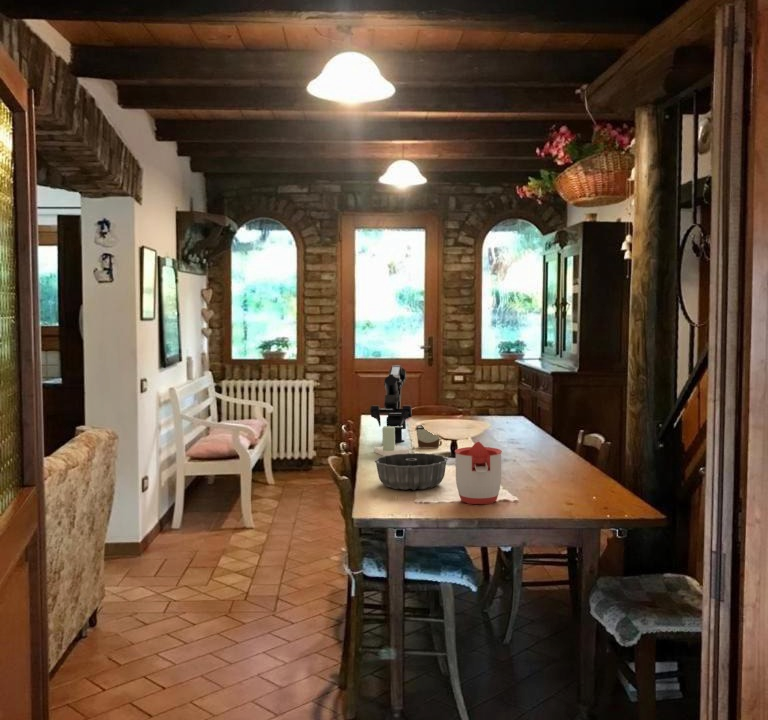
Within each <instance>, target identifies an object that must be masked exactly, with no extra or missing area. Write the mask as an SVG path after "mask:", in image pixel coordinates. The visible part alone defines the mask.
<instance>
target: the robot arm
mask: <svg viewBox="0 0 768 720" xmlns="http://www.w3.org/2000/svg"><path fill="white" fill-rule="evenodd" d="M406 380H407V370H406V369H405V368H403V367H402V365H397V364H396V365H391V367H390V369H389V370H388V375H387V376H386V377H385V378H384V382H383V387H384V389H385V392H386V394H385V395H384V402H383V403H384V404H383V406H384V408H381V407H380V405H371V406H370V407H369V409H370V410H369V411H370V417H371V418H373V419H375V420H376V422H377V423H378V426H379V428H380V427H381V426H382V425H381V414H387V416H386V426H395V443H401V442H402V443H404V442H405V440H404V439H403V430H406V429H407V428H406V427H407V424H406V423H407V421H406V420H407V419H409V418H412V414H413V412H412V405H402V408H401V402H402V388H403V387H404V386H405V384H406Z"/></svg>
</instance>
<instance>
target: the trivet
mask: <svg viewBox="0 0 768 720" xmlns="http://www.w3.org/2000/svg"><path fill="white" fill-rule="evenodd" d="M373 452H374V453H376V454H378V455H381V456H382V457H384V456H388V455H393V454H406V453H410V449H409V448H407V447H404V446H401V445H399V444H398V445H396V444H395V450H394V451H383V446H375V447H373Z"/></svg>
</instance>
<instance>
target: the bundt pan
mask: <svg viewBox="0 0 768 720" xmlns="http://www.w3.org/2000/svg"><path fill="white" fill-rule="evenodd" d="M447 461H448V458H447V457H445V455H440V454H435V453H426V452H425V453H424V452H423V453H422V452H421V453H420V452H419V453H417V452H415V453H413V452H412V453H411V452H409V453H406V454H393V455H388V456H379V457H377V458H376V459H375V460H374V463H375V464H376V469H377V474H378V479H379V481H380V482H381V483H382V484H383V485H384V486H386V487H388V488H391V489H394V490H403V491H407V490H412V491H416V490H417V489H418V490H425V489H432V488H434V487H436V486H438V485H440V484H441V482H442V481H443V479H444V478H445V474H446V466H447Z"/></svg>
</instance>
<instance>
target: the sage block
mask: <svg viewBox="0 0 768 720" xmlns="http://www.w3.org/2000/svg"><path fill="white" fill-rule="evenodd" d="M395 427H396V426H387V425H385V426H383V427H382V447H383V451H394V450H395V446H396V442H395Z"/></svg>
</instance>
